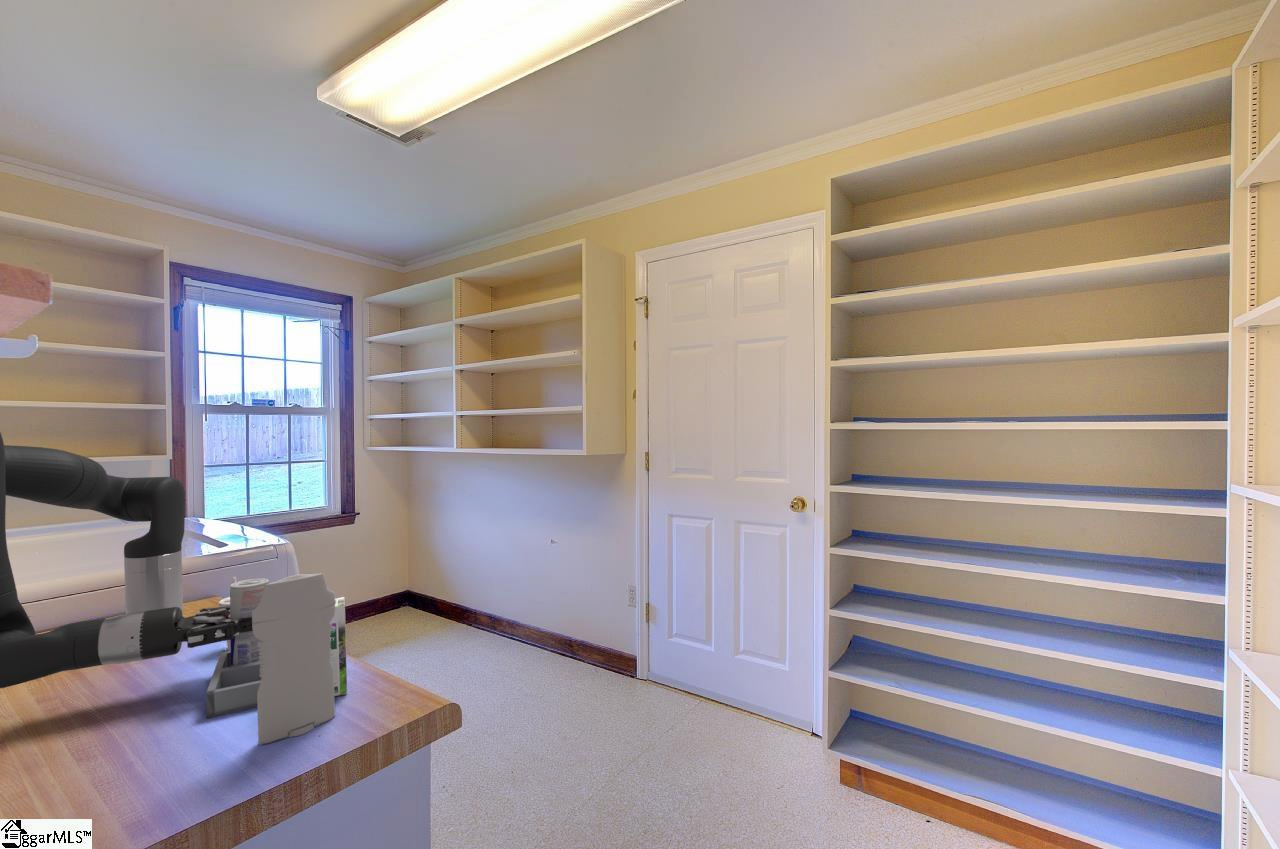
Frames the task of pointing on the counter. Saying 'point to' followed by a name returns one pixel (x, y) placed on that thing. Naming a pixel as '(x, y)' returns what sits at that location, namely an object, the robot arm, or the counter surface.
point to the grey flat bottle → (294, 656)
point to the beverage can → (241, 606)
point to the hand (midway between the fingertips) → (267, 616)
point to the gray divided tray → (232, 687)
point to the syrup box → (339, 648)
